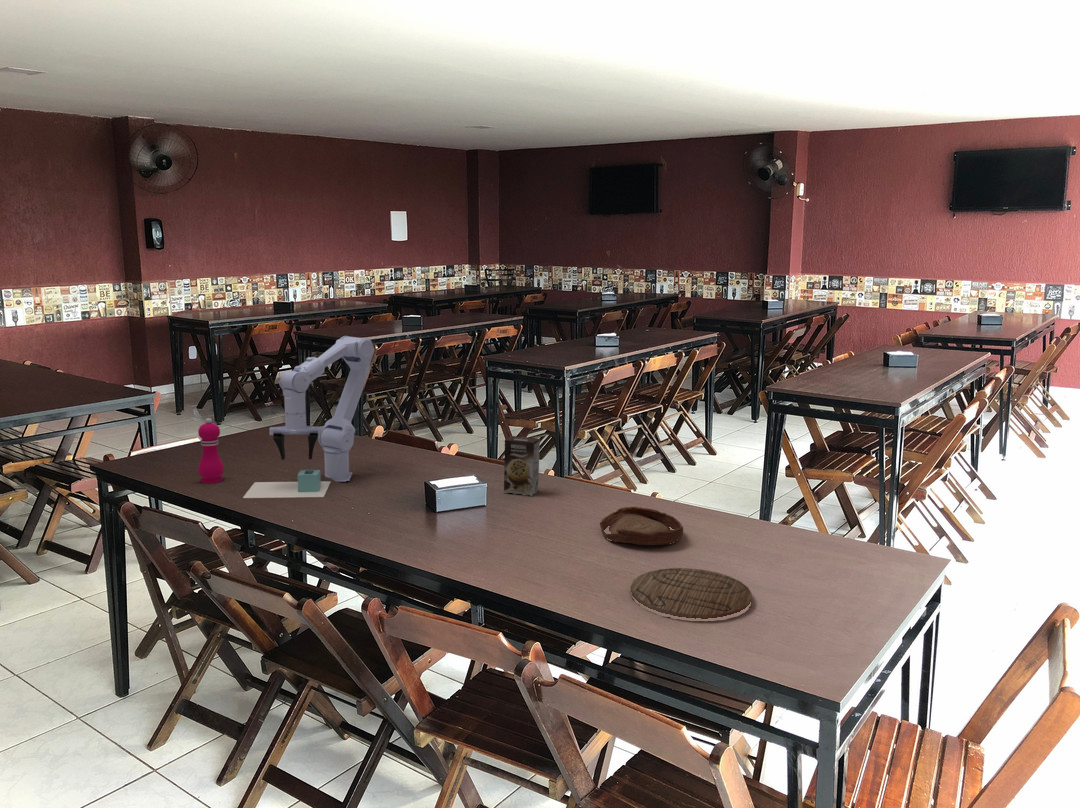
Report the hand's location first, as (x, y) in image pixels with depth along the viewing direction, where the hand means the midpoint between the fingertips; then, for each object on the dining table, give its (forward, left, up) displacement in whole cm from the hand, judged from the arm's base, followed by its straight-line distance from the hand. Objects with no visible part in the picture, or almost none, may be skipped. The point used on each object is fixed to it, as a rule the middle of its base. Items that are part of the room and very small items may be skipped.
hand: (296, 458), depth 257 cm
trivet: (+84, +94, -10) cm, 126 cm away
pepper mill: (-8, -26, -10) cm, 29 cm away
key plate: (+3, -2, -9) cm, 10 cm away
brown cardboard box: (+5, +65, -10) cm, 66 cm away
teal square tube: (+3, +4, -8) cm, 10 cm away
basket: (+45, +92, -10) cm, 103 cm away
